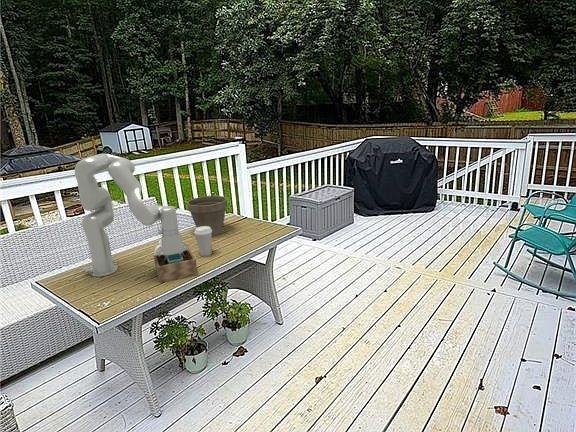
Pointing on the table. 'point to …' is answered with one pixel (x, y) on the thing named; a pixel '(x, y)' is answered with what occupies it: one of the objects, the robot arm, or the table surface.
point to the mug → (158, 248)
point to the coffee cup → (204, 240)
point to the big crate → (175, 268)
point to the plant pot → (208, 212)
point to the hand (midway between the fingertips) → (175, 264)
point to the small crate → (174, 258)
